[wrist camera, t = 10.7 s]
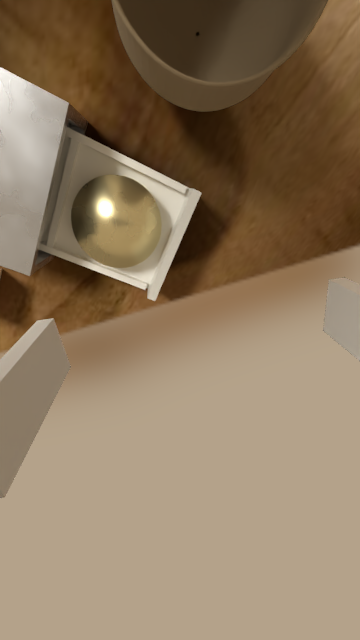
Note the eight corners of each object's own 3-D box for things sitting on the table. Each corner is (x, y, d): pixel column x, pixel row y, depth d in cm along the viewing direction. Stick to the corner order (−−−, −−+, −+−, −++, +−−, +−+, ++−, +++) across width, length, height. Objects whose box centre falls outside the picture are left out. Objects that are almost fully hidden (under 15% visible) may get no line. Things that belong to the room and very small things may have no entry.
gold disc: (145, 274, 29) (144, 279, 27) (66, 246, 27) (62, 250, 25) (173, 197, 26) (174, 198, 24) (87, 158, 24) (83, 157, 22)
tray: (15, 233, 27) (-6, 241, 23) (38, 113, 23) (17, 100, 19) (154, 287, 31) (155, 301, 27) (195, 191, 27) (201, 192, 23)
